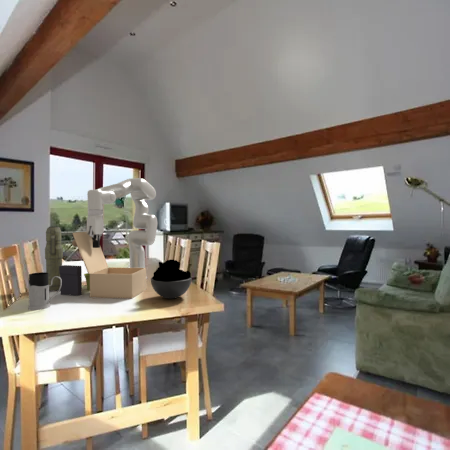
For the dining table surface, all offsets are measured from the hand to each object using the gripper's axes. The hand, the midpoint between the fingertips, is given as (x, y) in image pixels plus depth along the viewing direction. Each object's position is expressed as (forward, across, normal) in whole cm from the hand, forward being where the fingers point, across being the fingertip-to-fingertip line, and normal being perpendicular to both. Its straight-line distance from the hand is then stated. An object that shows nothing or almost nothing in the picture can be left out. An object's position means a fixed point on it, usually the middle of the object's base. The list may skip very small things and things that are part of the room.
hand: (96, 247), depth 170 cm
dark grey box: (+24, +6, -11) cm, 27 cm away
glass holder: (+24, +29, -9) cm, 39 cm away
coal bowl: (+24, +8, +43) cm, 50 cm away
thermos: (+24, -4, -27) cm, 37 cm away
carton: (+24, +1, +13) cm, 27 cm away
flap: (+2, +1, -2) cm, 3 cm away
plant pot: (+24, -7, -6) cm, 26 cm away
